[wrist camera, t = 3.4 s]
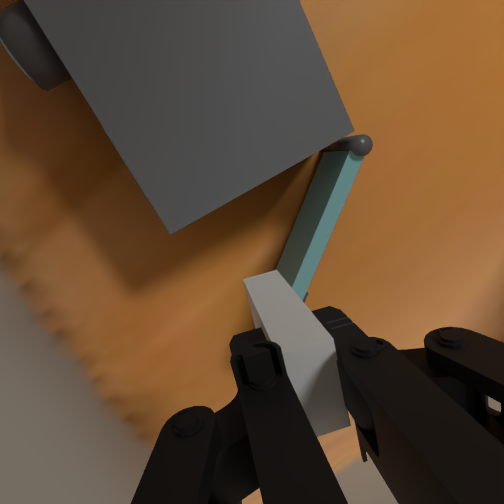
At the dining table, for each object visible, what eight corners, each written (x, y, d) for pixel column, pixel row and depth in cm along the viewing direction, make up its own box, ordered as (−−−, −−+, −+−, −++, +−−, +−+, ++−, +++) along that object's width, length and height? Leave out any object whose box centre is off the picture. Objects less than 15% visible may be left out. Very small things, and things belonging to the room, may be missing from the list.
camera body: (-28, -34, 21) (-112, -109, 15) (191, -153, 22) (191, -271, 16) (147, 237, 26) (134, 259, 21) (322, 138, 27) (360, 131, 21)
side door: (259, 302, 29) (273, 332, 24) (326, 136, 27) (358, 131, 22) (281, 309, 29) (300, 340, 24) (349, 147, 27) (385, 144, 22)
